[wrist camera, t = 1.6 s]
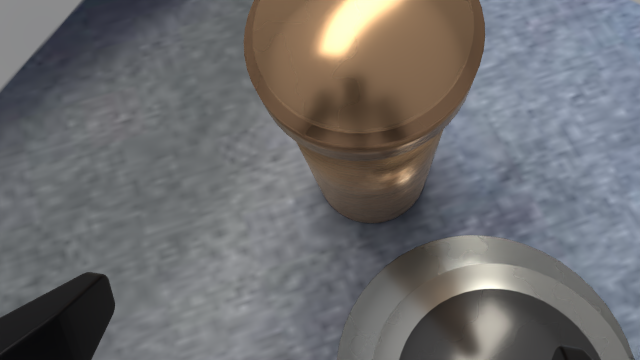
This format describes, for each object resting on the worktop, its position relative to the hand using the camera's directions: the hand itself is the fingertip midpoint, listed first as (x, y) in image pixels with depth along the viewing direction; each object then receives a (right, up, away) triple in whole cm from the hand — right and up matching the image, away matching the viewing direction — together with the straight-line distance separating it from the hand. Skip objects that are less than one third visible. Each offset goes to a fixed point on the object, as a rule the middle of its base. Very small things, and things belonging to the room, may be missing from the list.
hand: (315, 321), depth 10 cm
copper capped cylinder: (+3, +3, +14) cm, 14 cm away
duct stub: (+7, -6, +11) cm, 14 cm away
